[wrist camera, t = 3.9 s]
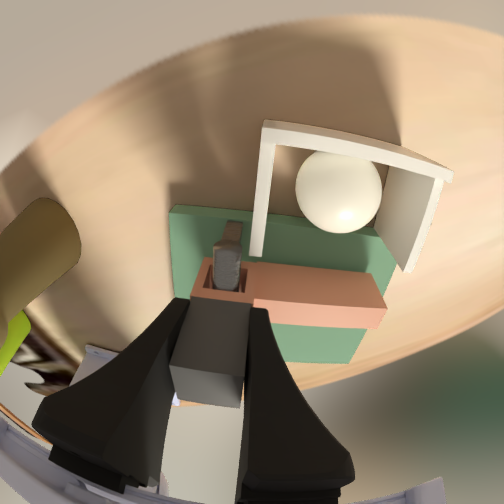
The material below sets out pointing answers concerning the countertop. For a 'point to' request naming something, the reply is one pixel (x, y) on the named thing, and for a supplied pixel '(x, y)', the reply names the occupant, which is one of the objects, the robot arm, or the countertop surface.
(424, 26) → the countertop surface
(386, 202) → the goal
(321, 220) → the ball
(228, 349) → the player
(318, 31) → the countertop surface
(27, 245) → the cork
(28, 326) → the soap dispenser
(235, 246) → the rod
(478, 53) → the countertop surface
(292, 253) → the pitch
